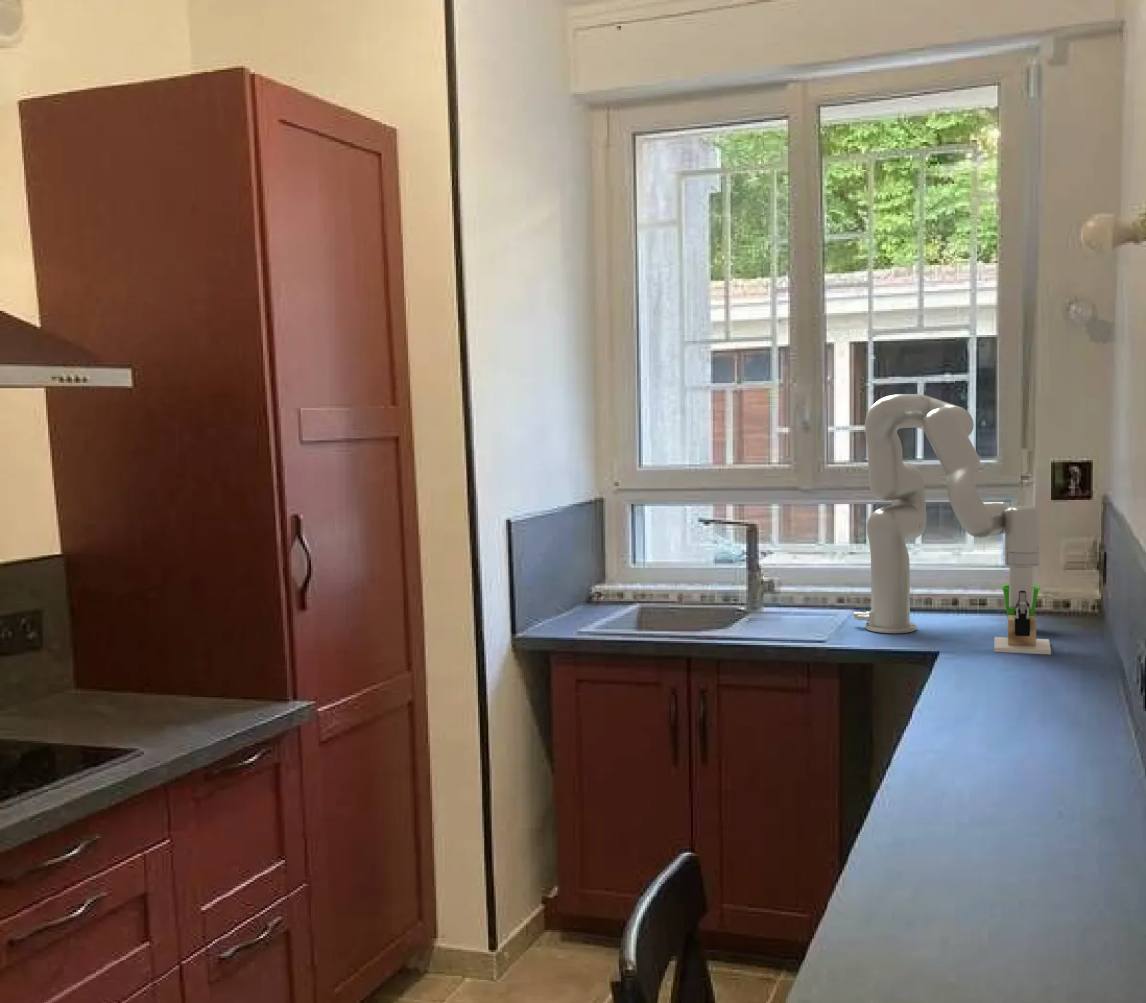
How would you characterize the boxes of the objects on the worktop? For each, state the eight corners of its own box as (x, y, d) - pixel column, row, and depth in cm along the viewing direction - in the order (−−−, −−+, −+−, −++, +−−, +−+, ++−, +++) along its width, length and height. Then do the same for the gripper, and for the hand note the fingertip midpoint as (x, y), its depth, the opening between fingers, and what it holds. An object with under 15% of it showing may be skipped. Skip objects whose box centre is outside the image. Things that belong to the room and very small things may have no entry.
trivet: (994, 651, 256) (994, 647, 255) (994, 641, 267) (994, 637, 267) (1050, 654, 251) (1050, 650, 251) (1048, 643, 262) (1048, 639, 262)
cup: (1045, 633, 274) (1046, 589, 273) (1008, 634, 274) (1009, 590, 273) (1031, 626, 283) (1031, 583, 282) (995, 626, 283) (995, 584, 282)
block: (1008, 645, 257) (1008, 620, 257) (1007, 640, 263) (1007, 615, 262) (1036, 646, 255) (1036, 621, 255) (1035, 641, 261) (1035, 616, 260)
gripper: (1004, 553, 267) (1004, 623, 268) (1005, 563, 251) (1004, 638, 252) (1038, 554, 264) (1038, 625, 265) (1041, 564, 248) (1040, 640, 249)
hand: (1021, 631), depth 259 cm, fingers open, 9 cm apart
